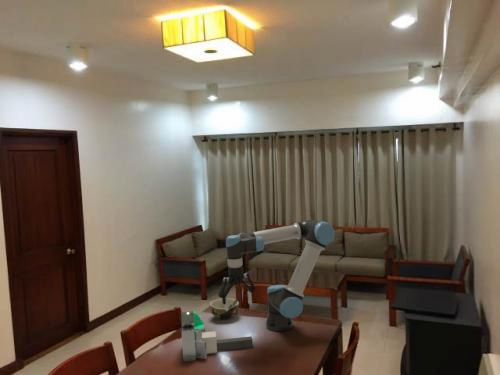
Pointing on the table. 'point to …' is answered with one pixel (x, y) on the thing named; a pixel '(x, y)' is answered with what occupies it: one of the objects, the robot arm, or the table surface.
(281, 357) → the table surface
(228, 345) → the grey beam
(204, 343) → the housing
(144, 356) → the table surface
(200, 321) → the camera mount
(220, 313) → the bowl
